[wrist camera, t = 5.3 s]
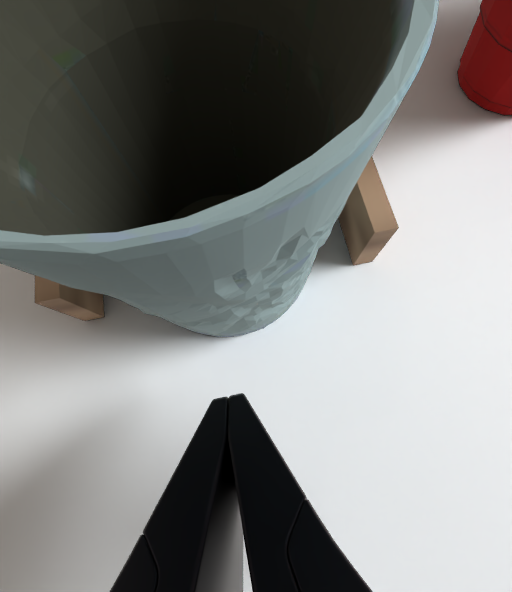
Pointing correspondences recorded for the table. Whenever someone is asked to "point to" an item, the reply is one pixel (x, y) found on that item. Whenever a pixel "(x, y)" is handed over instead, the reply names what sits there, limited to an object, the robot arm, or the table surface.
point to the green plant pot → (193, 143)
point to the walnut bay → (353, 219)
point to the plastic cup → (489, 58)
